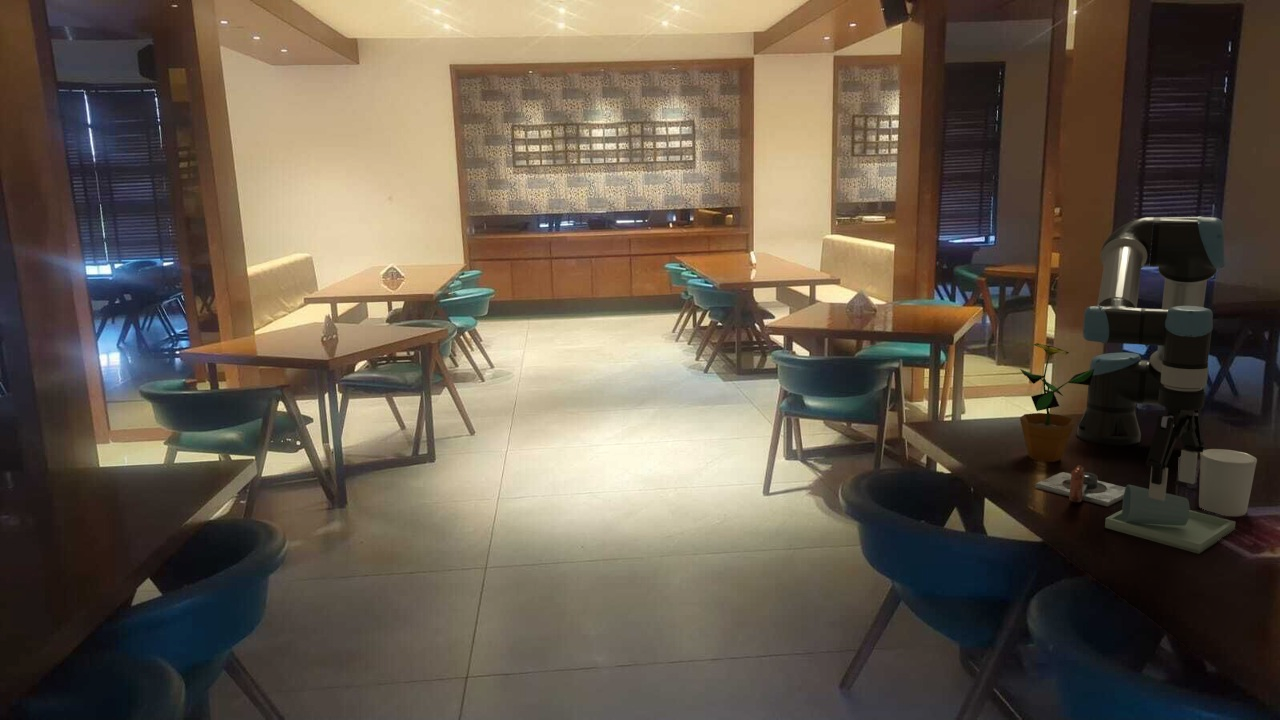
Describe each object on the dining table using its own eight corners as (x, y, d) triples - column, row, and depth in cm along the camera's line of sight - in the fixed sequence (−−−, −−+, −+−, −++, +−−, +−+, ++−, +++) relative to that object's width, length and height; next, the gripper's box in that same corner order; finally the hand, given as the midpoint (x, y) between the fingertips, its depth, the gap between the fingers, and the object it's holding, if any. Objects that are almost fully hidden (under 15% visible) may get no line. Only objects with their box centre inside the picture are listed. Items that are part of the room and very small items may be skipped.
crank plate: (1062, 476, 204) (1062, 471, 203) (1133, 494, 191) (1134, 488, 191) (1035, 488, 196) (1036, 482, 196) (1107, 507, 184) (1108, 501, 184)
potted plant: (1068, 474, 205) (1077, 351, 199) (992, 457, 219) (999, 341, 213) (1098, 457, 217) (1108, 340, 211) (1025, 442, 230) (1032, 332, 225)
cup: (1187, 536, 166) (1126, 527, 169) (1178, 525, 173) (1120, 516, 176) (1193, 498, 165) (1132, 489, 168) (1184, 489, 172) (1125, 480, 175)
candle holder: (1252, 522, 174) (1258, 465, 172) (1194, 513, 179) (1200, 459, 177) (1249, 506, 182) (1255, 452, 180) (1194, 499, 187) (1199, 446, 185)
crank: (1074, 480, 197) (1076, 450, 195) (1098, 484, 194) (1101, 453, 193) (1060, 502, 184) (1062, 470, 182) (1085, 506, 181) (1088, 474, 179)
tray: (1143, 508, 183) (1144, 498, 182) (1234, 532, 170) (1235, 521, 169) (1104, 528, 173) (1105, 518, 172) (1198, 555, 160) (1199, 544, 159)
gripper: (1188, 372, 176) (1178, 470, 181) (1132, 394, 162) (1122, 500, 166) (1229, 378, 170) (1218, 480, 175) (1175, 402, 156) (1164, 511, 160)
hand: (1171, 490), depth 170 cm, fingers open, 13 cm apart
